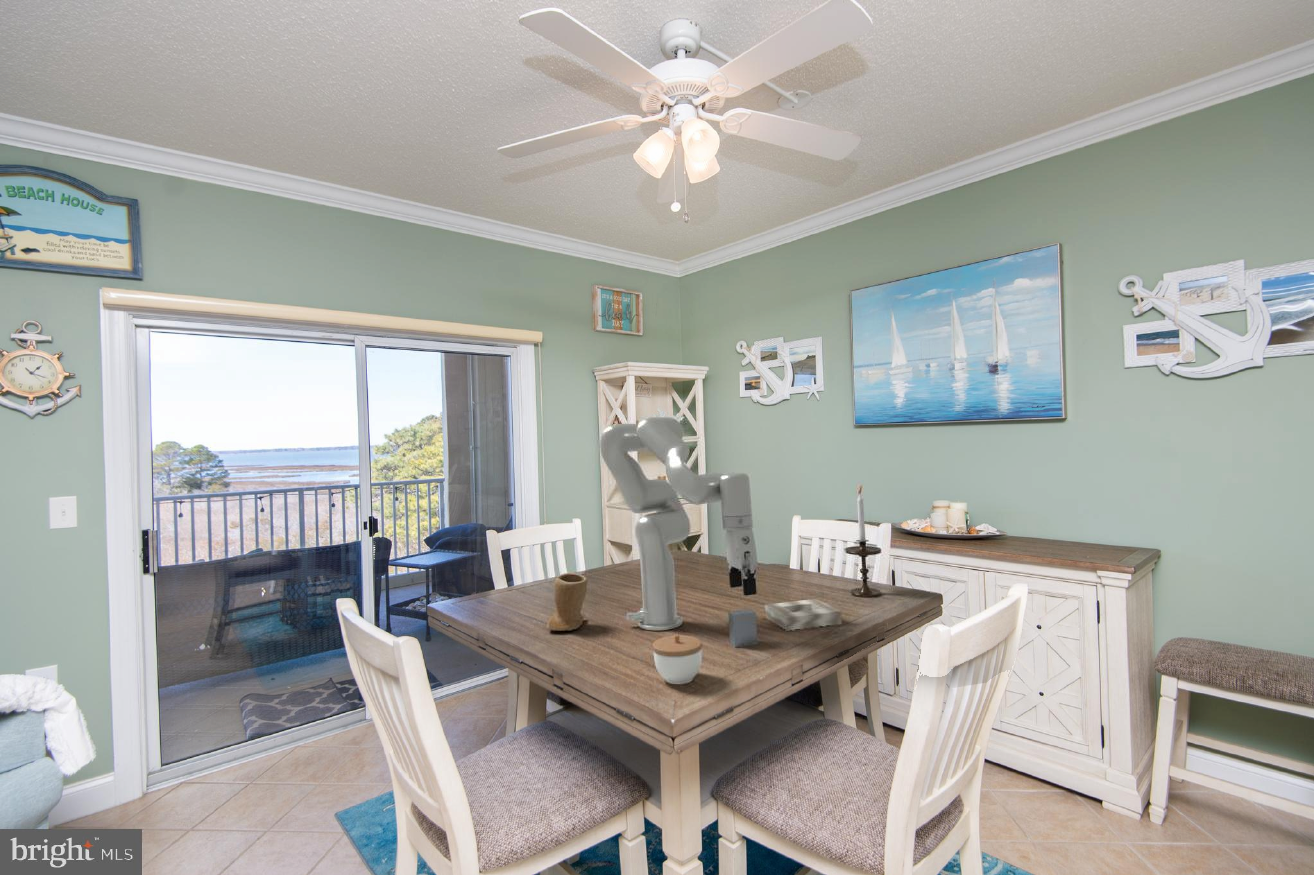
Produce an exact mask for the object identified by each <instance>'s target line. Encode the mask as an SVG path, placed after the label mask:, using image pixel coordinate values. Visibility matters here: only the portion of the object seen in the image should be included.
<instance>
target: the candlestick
mask: <svg viewBox="0 0 1314 875" xmlns="http://www.w3.org/2000/svg"><path fill="white" fill-rule="evenodd" d="M862 486H863V485H862V484H861V485H860V487H859V490H858V497H857V498H856V502H857V503H856V505H857V520H858V521H857V522H858V523H857V524H858V536H859V537H858V539H857V540H855V541H856V542H858V545H856V546H855V545H854V546H847V547H845V549H844V550H845V553H846V554H847V555H848V554H849V555H853V556H858V558H861V559H860V560H861V567H860V568H859V572H860V574H861V577H860V579H861V580H862V585H861V587H856V588H852V589H851V590H850V595H851V596H853V597H857V598H858V597H859V598H866V599H867V598H878V597H880V596H881V594H882V592H881V590H880V589H877V588H873V587H869V585H868V580H869V579H870V578H869V577H868V573H869V572H870V570H869V569H868V568H867V557H869V556H875V555H879V554H881V553H882V549H881V547H878V546H871V545H867V542H870V540H868V539H866V528H865V527H866V524H865V523H866V522H865V511H864V510H865V509H864V508H865V507H864V499H863V498H862V495H861V494H862V490H863V489H862V488H863V487H862Z"/></svg>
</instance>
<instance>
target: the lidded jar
mask: <svg viewBox="0 0 1314 875" xmlns="http://www.w3.org/2000/svg"><path fill="white" fill-rule="evenodd" d="M652 643H653V644H652V652H653V659H654V660H653V662H654V665H655V668H656V670H657V672H658V674H659V675H660V676H661V677H662V678H663V679H664V681H665V682H666V683H668V684H671V685H686V684H689V683H690V682H692V681H693V680H694V678H695V677H696V676H697V674H698V673H699V671H700V669H701V665H702V659H703V658H702V656H703V650H702V648H703V643H702V640H701V639H700V638H697V637H695V636H691V635H685V634H684V635H679V634H674V635H670V636H669V635H668V636H664V637H660V638H659V639H656V640H655V641H654V642H652Z"/></svg>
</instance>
